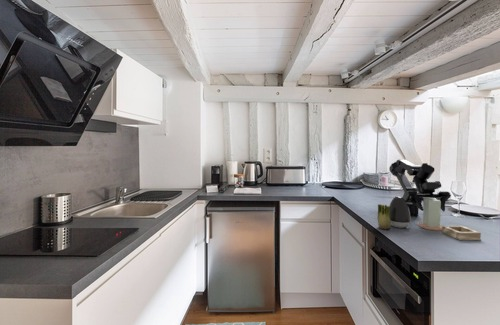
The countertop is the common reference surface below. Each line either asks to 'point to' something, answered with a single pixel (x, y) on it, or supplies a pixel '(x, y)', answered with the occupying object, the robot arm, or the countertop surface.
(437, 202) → the square plug
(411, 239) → the countertop surface
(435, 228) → the pad
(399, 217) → the grey smart speaker
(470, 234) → the square socket
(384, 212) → the green drip glaze vase
